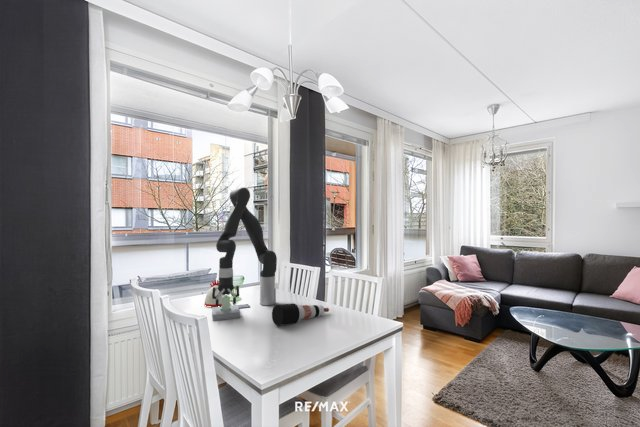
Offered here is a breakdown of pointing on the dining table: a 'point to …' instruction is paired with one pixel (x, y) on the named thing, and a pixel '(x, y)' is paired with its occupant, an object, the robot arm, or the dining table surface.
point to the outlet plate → (225, 313)
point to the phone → (243, 306)
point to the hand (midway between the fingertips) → (225, 305)
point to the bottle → (295, 313)
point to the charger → (226, 303)
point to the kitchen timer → (209, 300)
